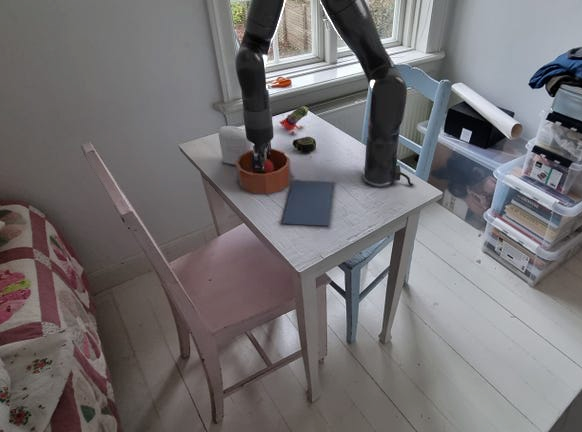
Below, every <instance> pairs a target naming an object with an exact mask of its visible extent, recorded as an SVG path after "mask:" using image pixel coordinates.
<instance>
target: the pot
mask: <svg viewBox="0 0 582 432" xmlns="http://www.w3.org/2000/svg"><path fill="white" fill-rule="evenodd" d="M251 153H254V152H253V150H250V151H247V152H246V153H244V154H242V155H240V156H239V158H238V160H237V162H236V165H235V166H236V173H237V179H238V183H239V185H240V186H241V189H242V190H244V191H247V192H249V193H251V194H254V195H255V194H257V195H260V194H261V195H270V194H273V193H277V192H280V191H282V190H283V189H285V188H286V187H287V186H289V185H290V182H291V178H292V173H291V171H292V170H291V159H290V157H289V156H288V154H286V152H285V151H283V150H279V149H276V148H271V151H270V155H269V156H270V161H271V162H272V163H273V165H274V172H270V173H266V174H258V173H255V172H253V165H252V158H251Z"/></svg>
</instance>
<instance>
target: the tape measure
mask: <svg viewBox="0 0 582 432" xmlns="http://www.w3.org/2000/svg"><path fill="white" fill-rule="evenodd" d="M316 141H317V140H316V139H315V138H313V137H311V136H305V137H300V138H296V139H293V141H292V145H293V148H295V149H296V150H297V152H299V153H303V154H308V153H312V152H314V151H315V150H316V148H317V142H316Z"/></svg>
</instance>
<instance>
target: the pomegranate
mask: <svg viewBox="0 0 582 432" xmlns="http://www.w3.org/2000/svg"><path fill="white" fill-rule="evenodd" d="M263 159H264V158H262V160H263ZM258 166H259V165H258ZM264 168H265V170H264V171H265V174H266V173H270V172H274V165H273V163H272V162H271V161H270V160H268V159H266V162H265V165H264ZM255 173H256V172H255Z"/></svg>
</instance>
